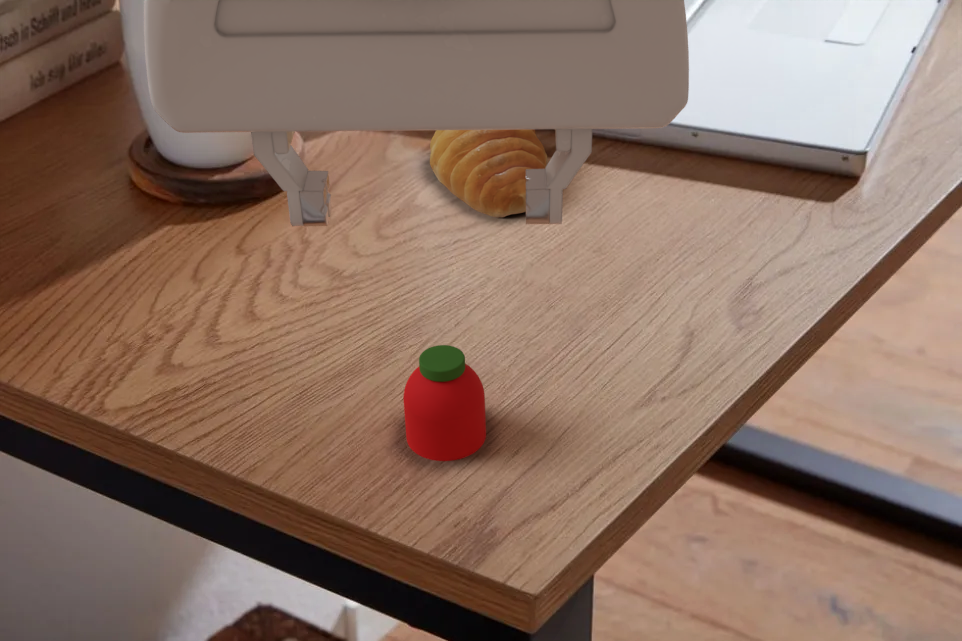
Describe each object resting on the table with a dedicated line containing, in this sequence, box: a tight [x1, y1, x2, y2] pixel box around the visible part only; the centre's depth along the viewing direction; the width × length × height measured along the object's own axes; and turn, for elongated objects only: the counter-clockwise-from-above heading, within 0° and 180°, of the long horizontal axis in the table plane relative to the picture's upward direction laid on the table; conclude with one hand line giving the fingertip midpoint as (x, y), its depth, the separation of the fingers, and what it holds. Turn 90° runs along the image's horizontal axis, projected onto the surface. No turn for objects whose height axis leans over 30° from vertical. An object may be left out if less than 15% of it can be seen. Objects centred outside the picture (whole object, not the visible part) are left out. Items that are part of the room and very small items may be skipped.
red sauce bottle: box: [402, 344, 487, 462], centre depth 59 cm, size 4×4×5 cm
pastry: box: [429, 129, 548, 219], centre depth 80 cm, size 9×7×4 cm
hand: (427, 219), depth 54 cm, fingers open, 8 cm apart
